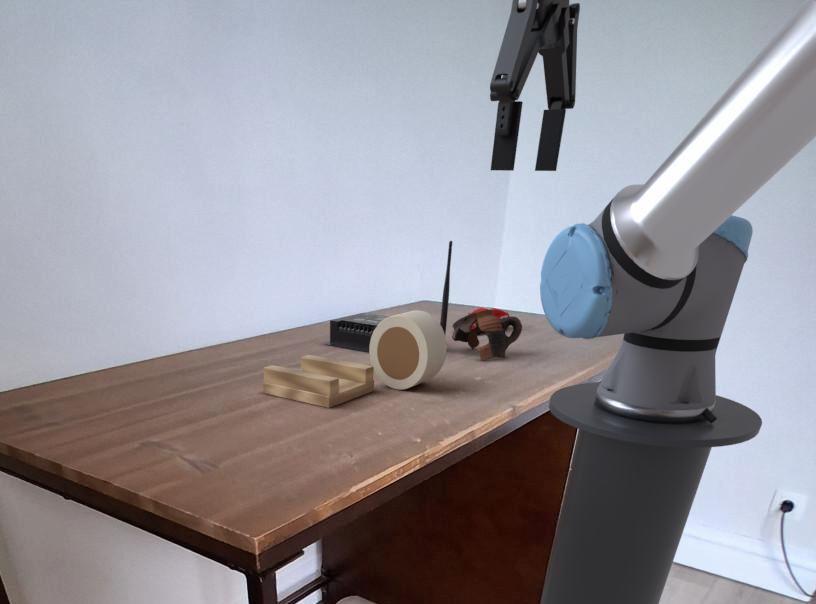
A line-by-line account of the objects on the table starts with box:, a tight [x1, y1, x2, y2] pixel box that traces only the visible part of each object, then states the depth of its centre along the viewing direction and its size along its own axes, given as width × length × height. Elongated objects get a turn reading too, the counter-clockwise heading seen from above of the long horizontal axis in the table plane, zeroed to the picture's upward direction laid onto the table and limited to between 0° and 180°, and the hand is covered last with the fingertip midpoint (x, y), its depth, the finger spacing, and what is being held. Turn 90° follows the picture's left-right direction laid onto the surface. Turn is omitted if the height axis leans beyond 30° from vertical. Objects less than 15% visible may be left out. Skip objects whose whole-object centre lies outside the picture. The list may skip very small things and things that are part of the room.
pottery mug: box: [451, 309, 523, 361], centre depth 117 cm, size 12×10×8 cm
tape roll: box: [368, 309, 448, 391], centre depth 98 cm, size 10×6×10 cm
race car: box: [467, 307, 510, 336], centre depth 135 cm, size 13×5×4 cm, turn 128°
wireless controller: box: [325, 240, 453, 353], centre depth 119 cm, size 20×14×17 cm
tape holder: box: [262, 354, 375, 409], centre depth 97 cm, size 12×11×4 cm
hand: (524, 171), depth 86 cm, fingers open, 13 cm apart
